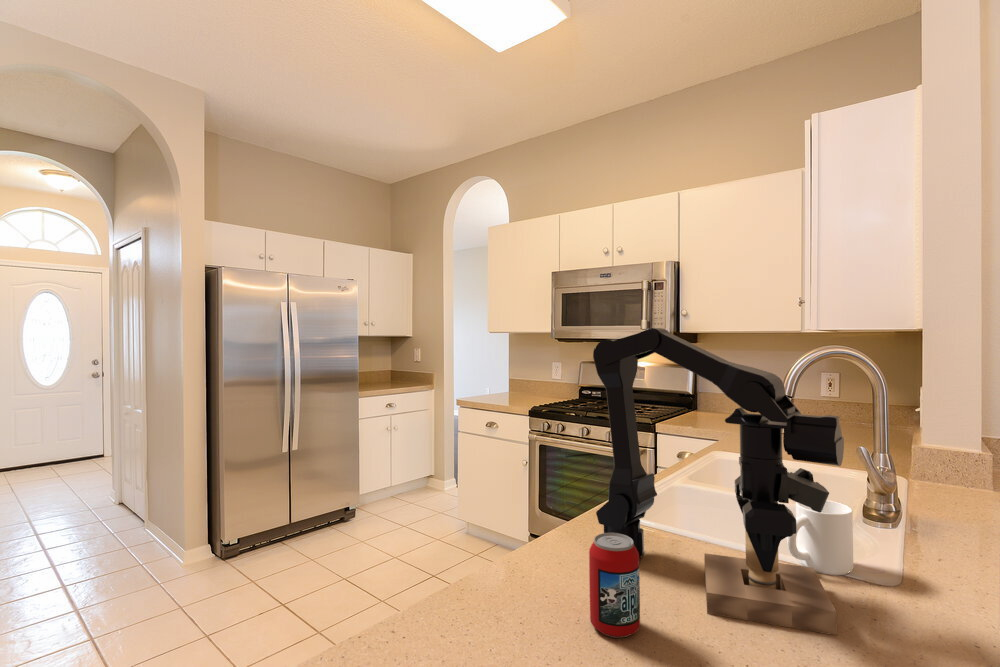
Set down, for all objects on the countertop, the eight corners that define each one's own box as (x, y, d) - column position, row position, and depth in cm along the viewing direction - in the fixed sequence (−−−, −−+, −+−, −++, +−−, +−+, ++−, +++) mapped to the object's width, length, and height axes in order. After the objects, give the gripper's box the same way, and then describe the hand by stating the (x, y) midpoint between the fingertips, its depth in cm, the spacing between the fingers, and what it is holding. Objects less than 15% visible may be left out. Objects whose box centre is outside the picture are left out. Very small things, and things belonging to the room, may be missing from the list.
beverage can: (611, 647, 65) (610, 554, 65) (580, 621, 71) (579, 536, 71) (651, 633, 68) (649, 543, 68) (617, 609, 74) (616, 527, 74)
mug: (809, 583, 81) (808, 519, 81) (768, 561, 89) (767, 503, 89) (865, 572, 84) (864, 511, 84) (821, 552, 92) (820, 496, 92)
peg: (748, 603, 75) (747, 536, 75) (745, 589, 79) (744, 526, 79) (781, 609, 73) (780, 540, 73) (776, 594, 77) (775, 529, 78)
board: (707, 613, 72) (706, 592, 72) (704, 570, 86) (704, 553, 86) (837, 635, 67) (836, 612, 67) (813, 586, 80) (812, 567, 80)
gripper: (840, 475, 65) (842, 597, 65) (808, 446, 82) (810, 541, 82) (744, 468, 69) (746, 583, 68) (733, 441, 86) (735, 533, 86)
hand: (762, 558), depth 76 cm, fingers open, 9 cm apart
